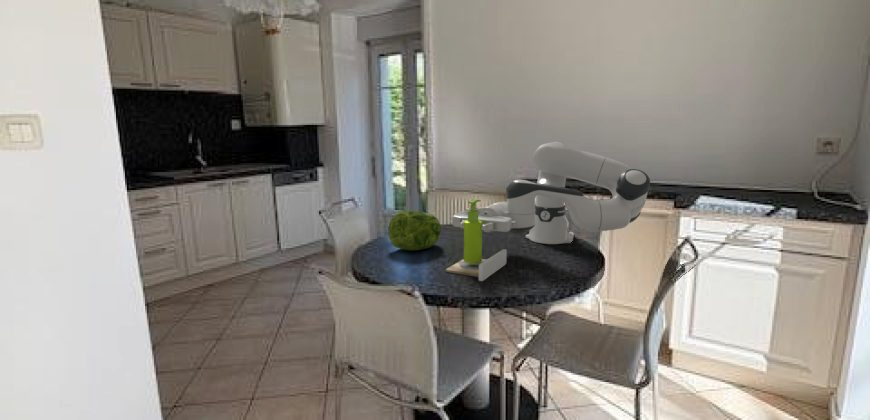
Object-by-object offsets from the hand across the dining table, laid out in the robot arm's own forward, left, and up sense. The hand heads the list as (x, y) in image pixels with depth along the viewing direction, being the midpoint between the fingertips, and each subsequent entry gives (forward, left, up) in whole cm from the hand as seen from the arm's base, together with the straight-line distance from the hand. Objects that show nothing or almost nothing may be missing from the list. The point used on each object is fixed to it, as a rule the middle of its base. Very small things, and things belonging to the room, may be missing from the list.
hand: (472, 227), depth 152 cm
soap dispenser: (-1, 0, -12) cm, 12 cm away
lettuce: (-13, -29, -14) cm, 35 cm away
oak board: (-1, 0, -14) cm, 14 cm away
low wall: (0, +7, -14) cm, 16 cm away
